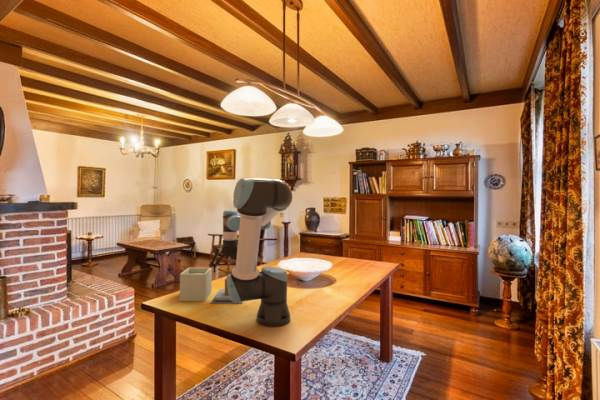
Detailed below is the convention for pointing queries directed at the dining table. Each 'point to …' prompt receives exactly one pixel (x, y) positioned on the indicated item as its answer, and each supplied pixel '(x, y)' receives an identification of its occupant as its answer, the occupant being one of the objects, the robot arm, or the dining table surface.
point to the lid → (223, 294)
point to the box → (195, 284)
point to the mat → (224, 302)
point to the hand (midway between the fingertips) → (229, 278)
